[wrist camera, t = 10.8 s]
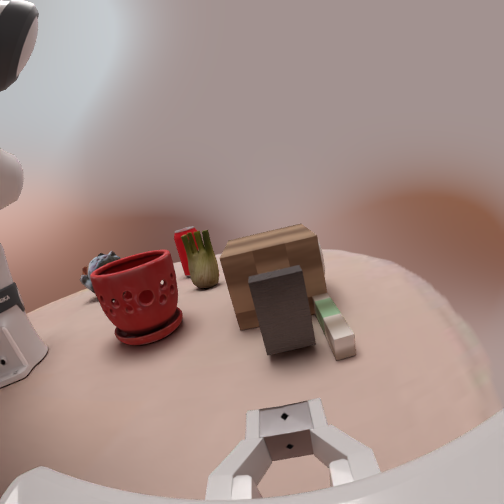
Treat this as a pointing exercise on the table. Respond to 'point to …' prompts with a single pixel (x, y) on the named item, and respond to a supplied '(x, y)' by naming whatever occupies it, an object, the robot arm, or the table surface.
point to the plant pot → (139, 296)
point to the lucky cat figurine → (96, 267)
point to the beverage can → (182, 249)
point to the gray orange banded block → (282, 309)
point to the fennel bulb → (201, 259)
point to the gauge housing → (279, 257)
